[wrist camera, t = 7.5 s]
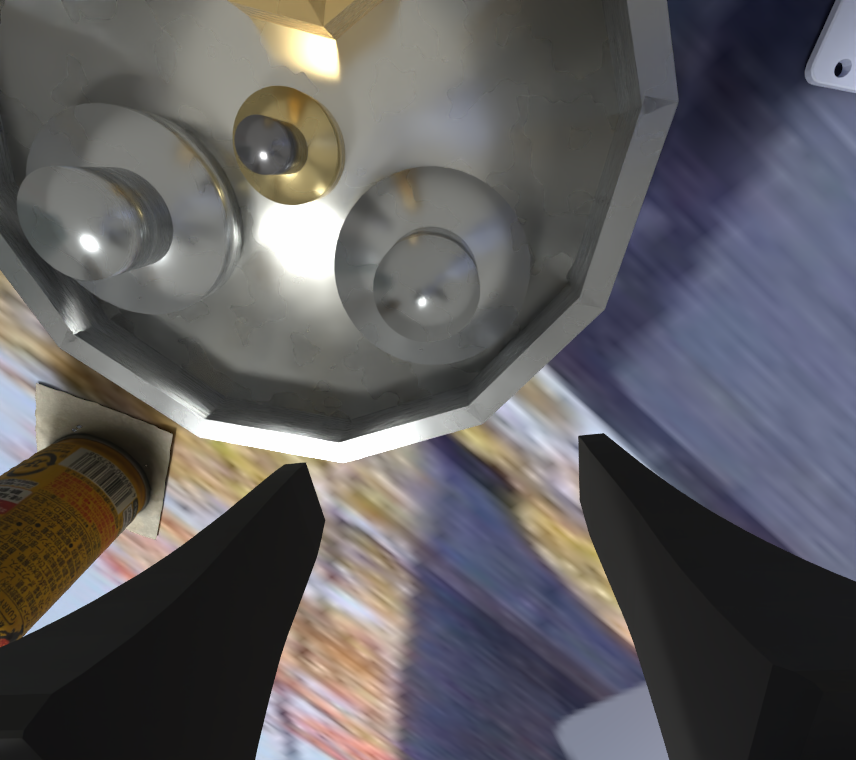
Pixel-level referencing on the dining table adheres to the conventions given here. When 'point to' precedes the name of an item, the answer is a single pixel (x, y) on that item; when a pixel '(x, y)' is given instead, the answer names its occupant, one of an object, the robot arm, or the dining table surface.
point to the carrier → (325, 202)
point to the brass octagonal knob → (309, 14)
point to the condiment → (73, 501)
